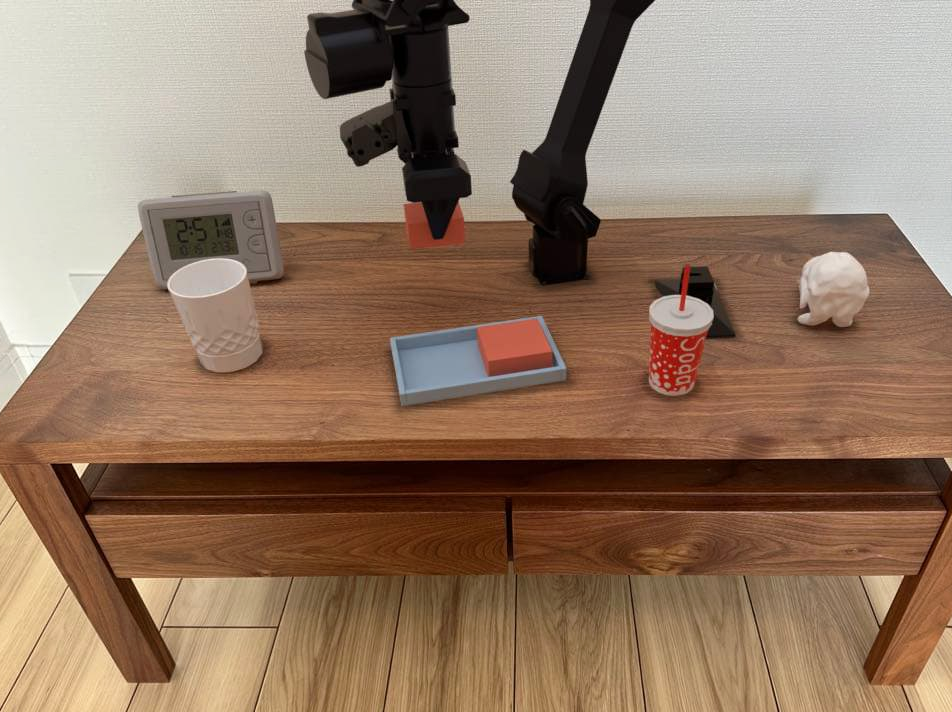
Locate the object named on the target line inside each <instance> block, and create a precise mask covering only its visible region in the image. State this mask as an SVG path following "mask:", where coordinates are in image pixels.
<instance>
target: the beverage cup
mask: <svg viewBox="0 0 952 712" xmlns="http://www.w3.org/2000/svg"><path fill="white" fill-rule="evenodd" d="M684 265H685V266H684V267H685V271H684V278H683V285H682V292H681V295H670V296H664V297H663V296H662V297H659V298H657V299H655V300H654V301H652V303H651V304H650V305H649V308H648V310H649V311H648V320H649V322H650V343H649V345H650V346H649V365H648V366H649V369H648V383H649V386H650V387H651V389H653V390H654V391H656V393H658V394H659V393H660V394H663V395H666V396H673V397H675V396H682V395H686V394H688V393H690V392H691V391H692V390H693V388H694V387H695V384H696V380H697V376H698V371H699V367H700V363H701V360H702V356H703V351H704V347H705V345H706V344H705V343H706V339H707V338H706V336H707V332H708V329H709V328H710V326H711V325H712V321H713V318H714V315H713V310H712V308H711V307H710V306H709V305H708V304H707V303H705V302H704V301H702V300H700V299H698V298H694V297H691V296H686V293H687V286H688V280H689V273H690V267H692V266H691V264H690V263H686V264H684Z"/></svg>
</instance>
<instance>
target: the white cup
mask: <svg viewBox="0 0 952 712" xmlns="http://www.w3.org/2000/svg"><path fill="white" fill-rule="evenodd" d="M167 287H168V289H167V290H168V292H169V294H170V296H171V299H172V301H173V303H174V306H175V308H176V311H177V313H178V315H179V318H180V321H181V323H182V325H183V327H184V329H185V331H186V334H187V335H188V338H189V340H190V343H191V345H192V347H193V348H194V350H195V352H196V355H197V357H198V360H199V363H200V364H201V365H202V366H203V368H205V369H206V371H211V372H214V373H220V374H221V373H234V372H237V371H241V370H244V369H246V368H248V367H250V366H251V365H254V364H255V363H256V362H257V361H258V360H259V358H260V357H261V356H262V355H263V342H262V337H261V333H260V325H259V321H258V315H257V309H256V305H255V301H254V298H253V293H252V288H251V284H250V283H249V278H248V274H247V270H246V267H245V266H244V265H243V264H242V263H240V262H238V261H235V260H232V259H224V258H216V259H207V260H202V261H198V262H194V263H192V264H189V265H187V266H184V267H182V268H181V269H179V270H177V271H176V272H175V273H174V274H173V275H172V276H171V277H170V278H169V280H168V283H167Z"/></svg>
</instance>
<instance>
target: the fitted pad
mask: <svg viewBox="0 0 952 712" xmlns="http://www.w3.org/2000/svg"><path fill="white" fill-rule="evenodd" d="M477 340H478V348H479V351H480V354H481V357H482V360H483V363H484V366H485V369H486V372H487V375H488V377H493V376H499V375H505V374H512V373H518V372H525V371H531V370H538V369H544V368H550V367H552V349H551V347H550V345H549V343H548V341H547V338H546V336H545V334H544V332H543V330H542V328H541V325H540V323H539V321H538V319H530V320H523V321H516V322H509V323H503V324H496V325H489V326H482V327H477Z"/></svg>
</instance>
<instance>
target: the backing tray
mask: <svg viewBox="0 0 952 712" xmlns="http://www.w3.org/2000/svg"><path fill="white" fill-rule="evenodd" d="M530 319H538V321H539V323H540V325H541V328H542V330H543V332H544V334H545V336H546V338H547V341H548V343H549V345H550V347H551V349H552V367H550V368H544V369H538V370H531V371H525V372H518V373H512V374H505V375H499V376H493V377H488V375H487V372H486V369H485V366H484V363H483V360H482V357H481V354H480V351H479V348H478V340H477V327H482V326H489V325H496V324H503V323H509V322H516V321H523V320H530ZM389 343H390V349H391V356H392V360H393V366H394V372H395V377H396V385H397V389H398V394H399V400H400V406H401V407H406V406H413V405H420V404H425V403H431V402H437V401H444V400H450V399H456V398H463V397H468V396H475V395H481V394H488V393H494V392H500V391H507V390H513V389H514V390H515V389H520V388H527V387H531V386H533V387H534V386H539V385H544V384H545V385H546V384H552V383H557V382H563V381H567V369H568V368H567V366H566V364H565V362H564V360H563V358H562V356H561V353H560V351H559V349H558V347H557V345H556V343H555V340H554V339H553V337H552V334H551V332H550V331H549V328H548V326H547V324H546V322H545V319H544V318H543V316H542V315H537V316H531V317H524V318H516V319H509V320H501V321H495V322H490V323H489V322H488V323H481V324H475V325H468V326H461V327H453V328H448V329H447V328H446V329H440V330H434V331H427V332H426V331H425V332H420V333H413V334H406V335H399V336H392V337H389Z"/></svg>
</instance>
